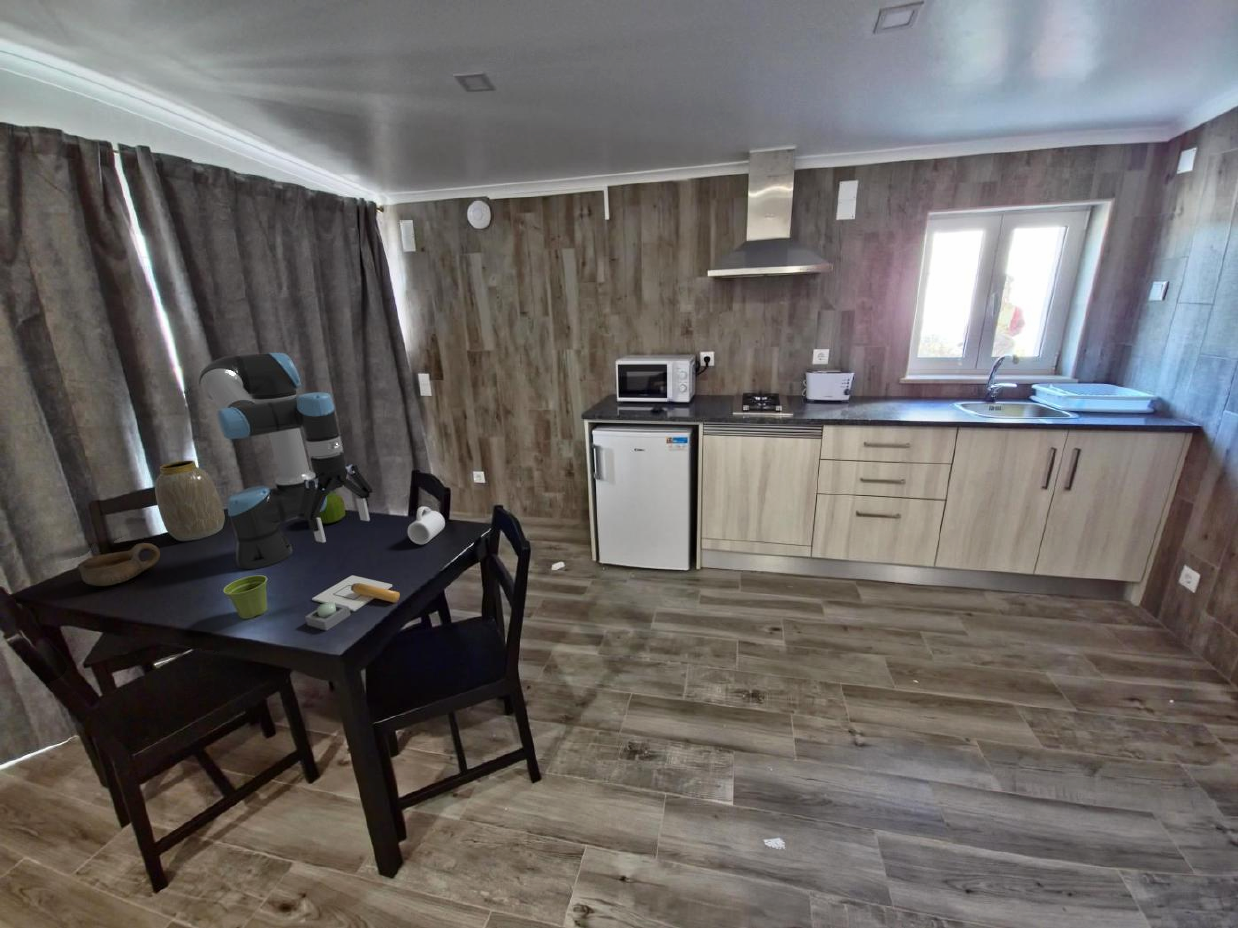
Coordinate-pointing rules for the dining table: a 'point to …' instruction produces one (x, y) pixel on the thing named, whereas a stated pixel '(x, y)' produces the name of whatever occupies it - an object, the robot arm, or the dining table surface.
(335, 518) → the apple
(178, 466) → the vase
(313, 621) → the button housing
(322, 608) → the button
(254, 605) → the plant pot
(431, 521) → the mug
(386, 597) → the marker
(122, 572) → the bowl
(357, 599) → the sheet
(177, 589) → the dining table surface
